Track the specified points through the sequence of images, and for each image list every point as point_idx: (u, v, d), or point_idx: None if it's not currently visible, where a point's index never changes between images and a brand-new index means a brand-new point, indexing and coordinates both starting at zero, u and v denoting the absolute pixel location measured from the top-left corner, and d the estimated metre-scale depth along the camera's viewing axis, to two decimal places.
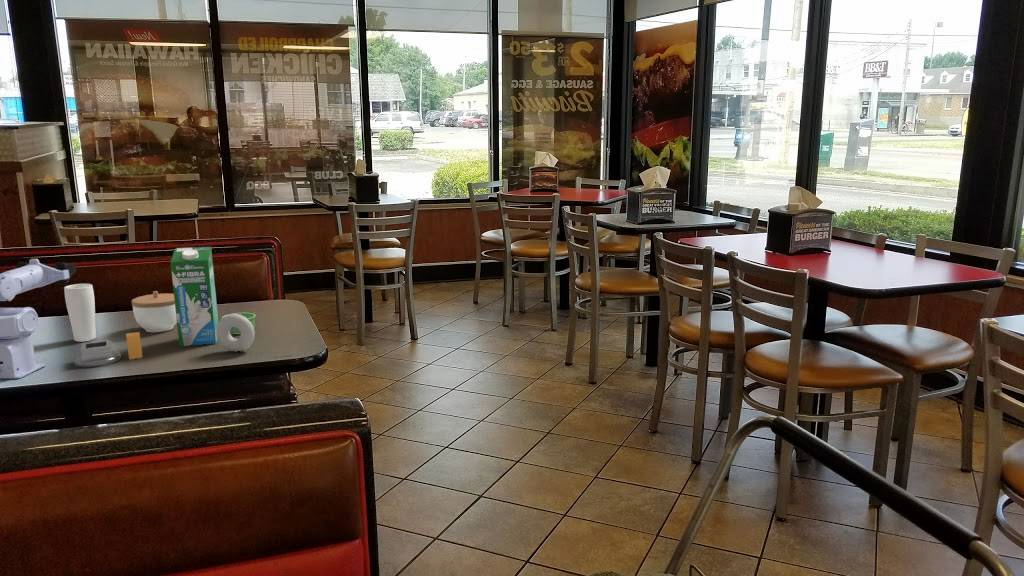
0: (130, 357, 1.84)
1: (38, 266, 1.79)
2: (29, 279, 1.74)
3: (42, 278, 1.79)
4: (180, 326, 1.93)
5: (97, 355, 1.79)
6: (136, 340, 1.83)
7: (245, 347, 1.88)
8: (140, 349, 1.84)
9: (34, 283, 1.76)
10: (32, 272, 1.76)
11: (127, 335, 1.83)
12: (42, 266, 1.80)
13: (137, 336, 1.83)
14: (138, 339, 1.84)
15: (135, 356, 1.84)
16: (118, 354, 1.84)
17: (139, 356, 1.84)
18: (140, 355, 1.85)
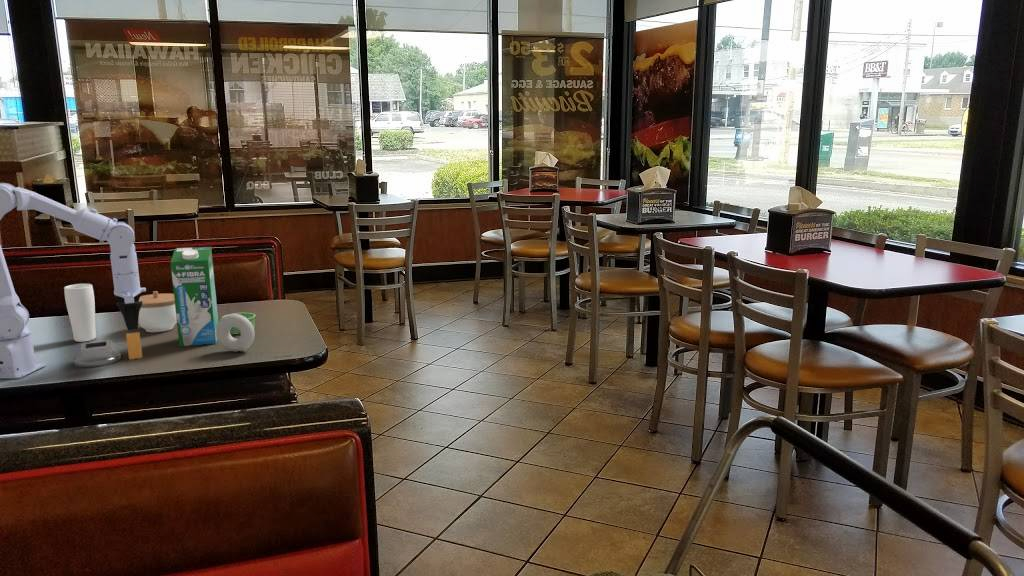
0: (130, 357, 1.84)
1: (138, 287, 1.81)
2: (126, 268, 1.78)
3: (125, 286, 1.79)
4: (180, 326, 1.93)
5: (97, 355, 1.79)
6: (136, 340, 1.83)
7: (245, 347, 1.88)
8: (140, 349, 1.84)
9: (120, 275, 1.78)
10: (133, 275, 1.80)
11: (127, 335, 1.83)
12: (138, 290, 1.81)
13: (137, 336, 1.83)
14: (138, 339, 1.84)
15: (135, 356, 1.84)
16: (118, 354, 1.84)
17: (139, 356, 1.84)
18: (140, 355, 1.85)
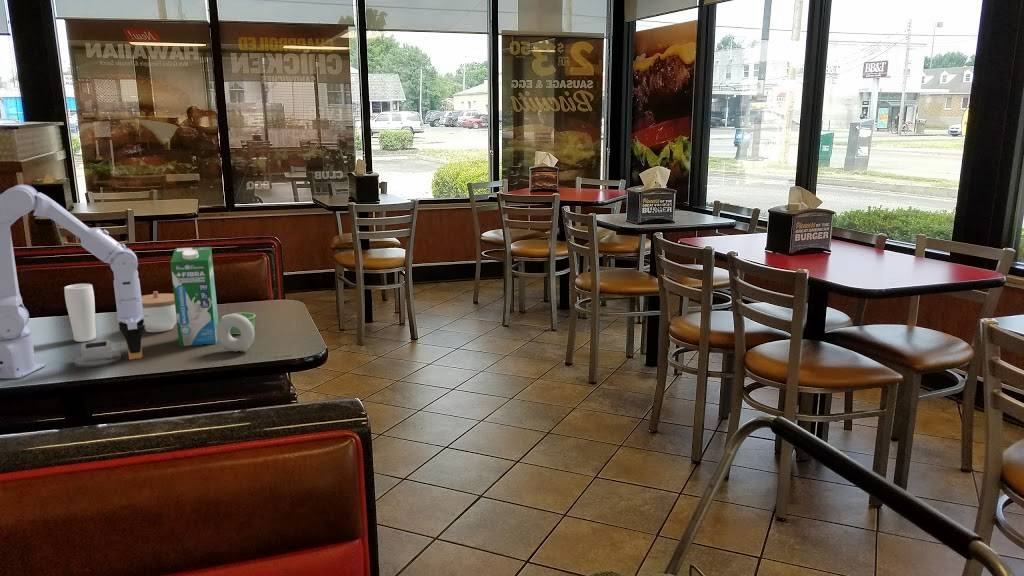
0: (130, 357, 1.84)
1: (141, 313, 1.83)
2: (129, 294, 1.80)
3: (128, 312, 1.80)
4: (180, 326, 1.93)
5: (97, 355, 1.79)
6: None
7: (245, 347, 1.88)
8: (140, 349, 1.84)
9: (124, 301, 1.79)
10: (136, 301, 1.81)
11: None
12: (141, 316, 1.82)
13: None
14: None
15: (135, 356, 1.84)
16: (118, 354, 1.84)
17: (139, 356, 1.84)
18: (140, 355, 1.85)
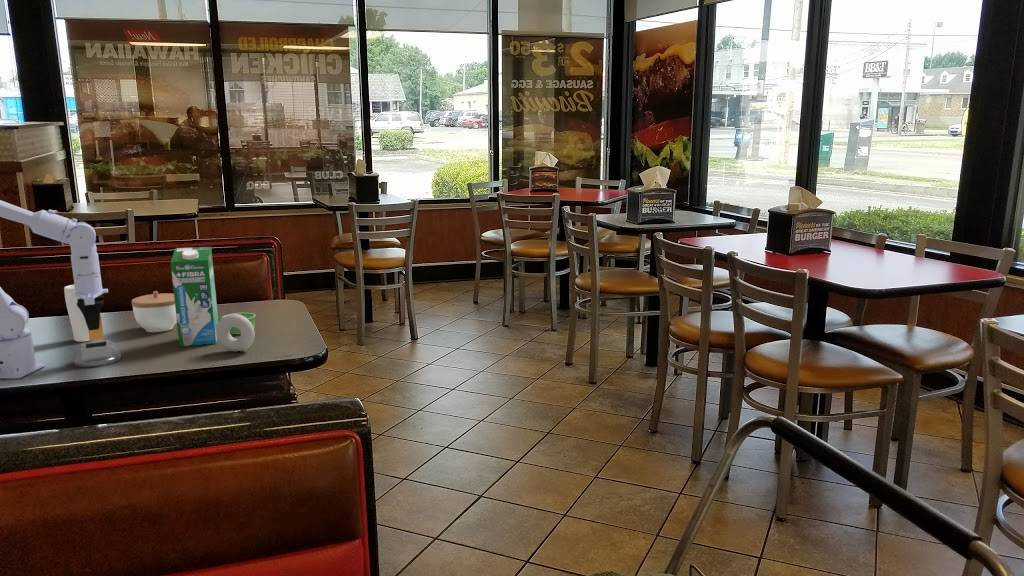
0: (90, 338, 1.79)
1: (99, 288, 1.78)
2: (87, 268, 1.75)
3: (86, 287, 1.76)
4: (180, 326, 1.93)
5: (97, 355, 1.79)
6: None
7: (245, 347, 1.88)
8: (101, 330, 1.80)
9: (81, 276, 1.75)
10: (94, 276, 1.76)
11: None
12: (99, 291, 1.78)
13: None
14: None
15: (96, 337, 1.80)
16: (118, 354, 1.84)
17: (100, 337, 1.80)
18: (101, 336, 1.80)
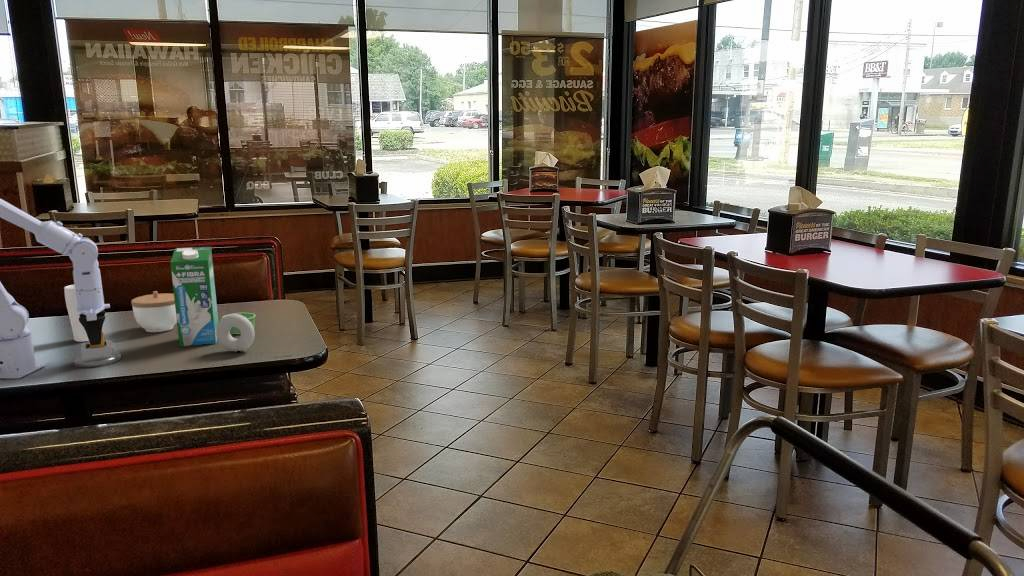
0: None
1: (101, 304, 1.79)
2: (89, 284, 1.76)
3: (88, 302, 1.76)
4: (180, 326, 1.93)
5: (97, 355, 1.79)
6: None
7: (245, 347, 1.88)
8: None
9: (83, 291, 1.76)
10: (96, 291, 1.77)
11: None
12: (101, 307, 1.78)
13: None
14: None
15: None
16: (118, 354, 1.84)
17: None
18: None
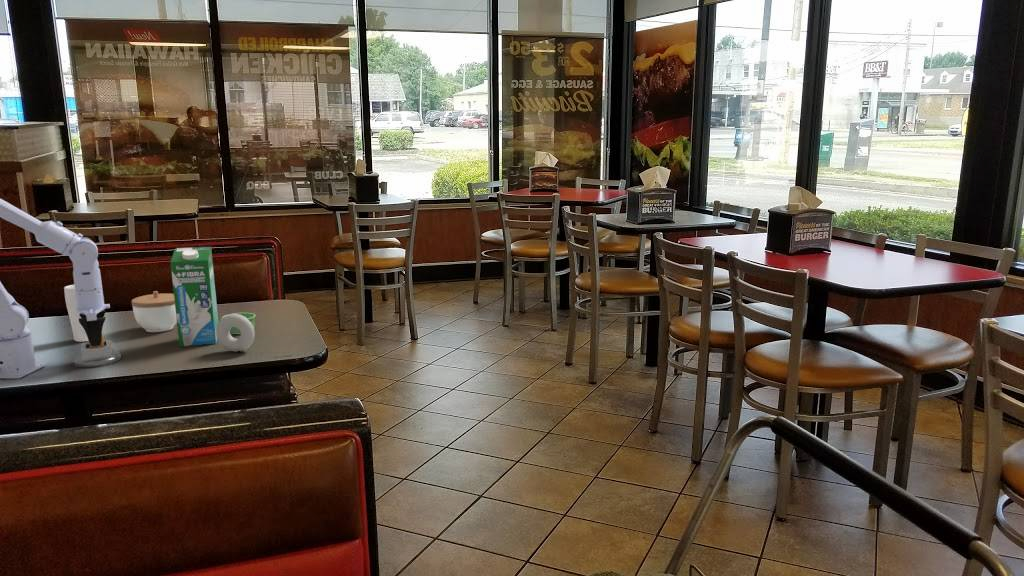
0: None
1: (101, 304, 1.79)
2: (89, 284, 1.76)
3: (88, 303, 1.76)
4: (180, 326, 1.93)
5: (97, 355, 1.79)
6: None
7: (245, 347, 1.88)
8: None
9: (83, 292, 1.76)
10: (96, 291, 1.77)
11: None
12: (101, 307, 1.78)
13: None
14: None
15: None
16: (118, 354, 1.84)
17: None
18: None
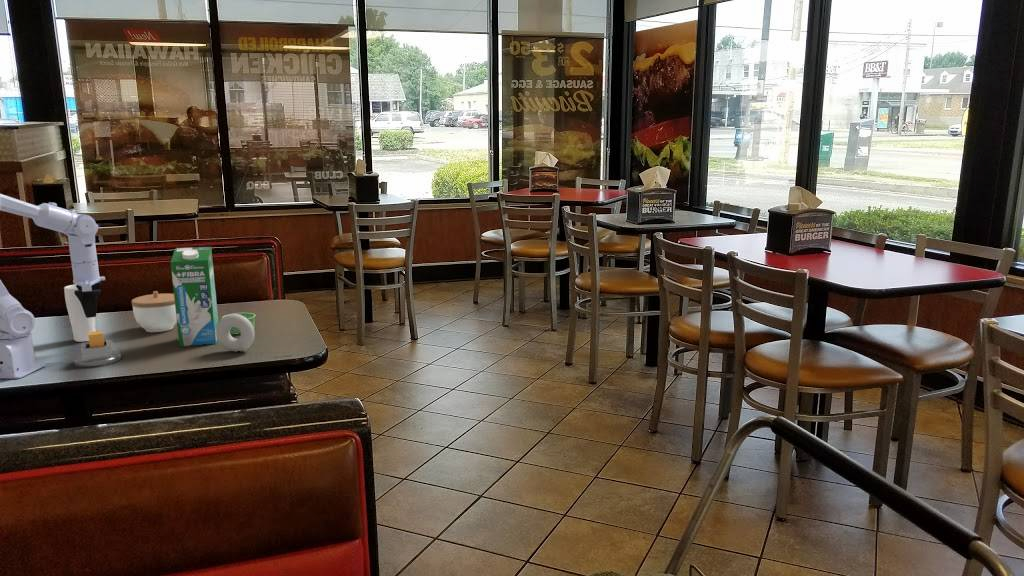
0: None
1: (97, 276, 1.86)
2: (91, 256, 1.84)
3: (84, 274, 1.83)
4: (180, 326, 1.93)
5: (97, 355, 1.79)
6: (99, 339, 1.80)
7: (245, 347, 1.88)
8: None
9: (79, 264, 1.83)
10: (91, 264, 1.84)
11: (89, 334, 1.80)
12: (96, 279, 1.86)
13: (99, 335, 1.80)
14: (101, 338, 1.80)
15: None
16: (118, 354, 1.84)
17: None
18: None
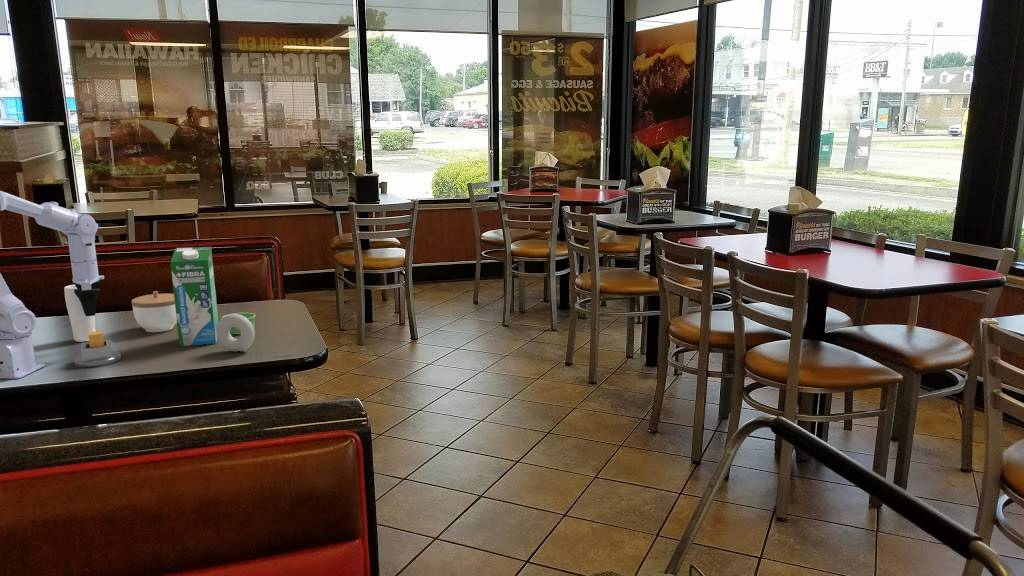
0: None
1: (96, 275, 1.88)
2: (91, 255, 1.86)
3: (83, 273, 1.85)
4: (180, 326, 1.93)
5: (97, 355, 1.79)
6: (99, 339, 1.80)
7: (245, 347, 1.88)
8: None
9: (78, 263, 1.84)
10: (91, 263, 1.86)
11: (89, 334, 1.80)
12: (96, 278, 1.87)
13: (99, 335, 1.80)
14: (101, 338, 1.80)
15: None
16: (118, 354, 1.84)
17: None
18: None
